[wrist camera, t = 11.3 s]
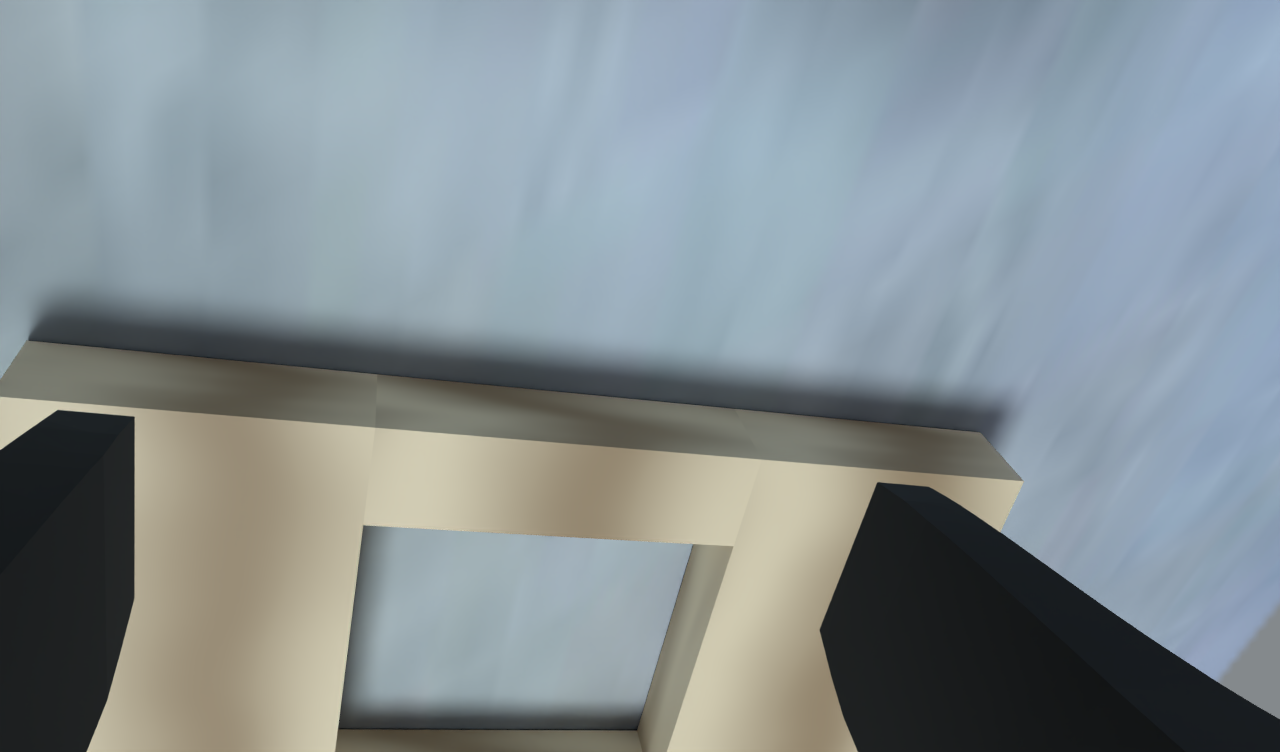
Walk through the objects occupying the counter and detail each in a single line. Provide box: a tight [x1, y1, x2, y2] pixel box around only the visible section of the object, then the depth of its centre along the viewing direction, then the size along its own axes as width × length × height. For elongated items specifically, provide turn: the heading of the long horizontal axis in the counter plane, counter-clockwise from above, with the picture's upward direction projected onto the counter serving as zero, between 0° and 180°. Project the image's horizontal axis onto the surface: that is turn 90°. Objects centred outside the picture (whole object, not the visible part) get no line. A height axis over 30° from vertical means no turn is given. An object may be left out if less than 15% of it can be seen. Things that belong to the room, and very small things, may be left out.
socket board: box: [0, 341, 1024, 752], centre depth 23 cm, size 20×12×2 cm, turn 77°
